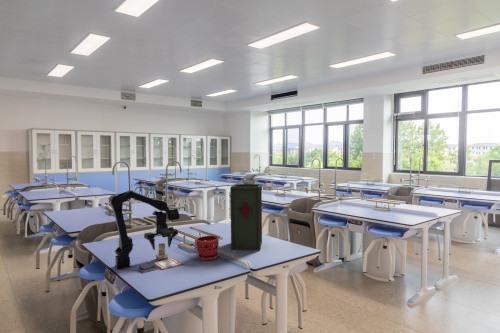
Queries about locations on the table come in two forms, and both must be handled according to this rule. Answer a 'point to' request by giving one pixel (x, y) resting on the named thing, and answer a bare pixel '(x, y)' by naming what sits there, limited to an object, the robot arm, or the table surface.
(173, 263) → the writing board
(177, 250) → the table surface
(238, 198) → the first aid box
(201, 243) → the plant pot
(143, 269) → the dark grey flat block
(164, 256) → the stamp
